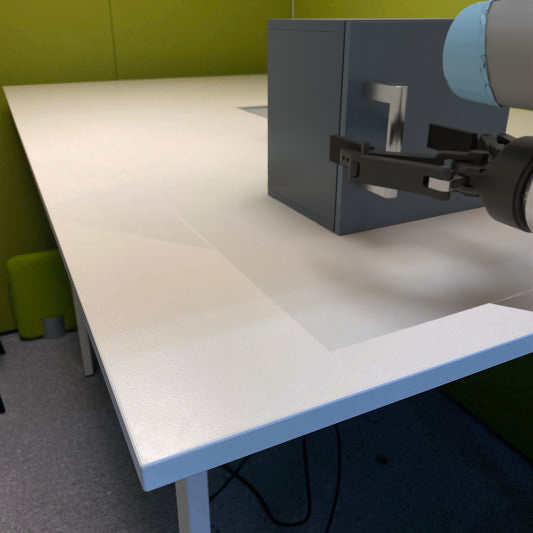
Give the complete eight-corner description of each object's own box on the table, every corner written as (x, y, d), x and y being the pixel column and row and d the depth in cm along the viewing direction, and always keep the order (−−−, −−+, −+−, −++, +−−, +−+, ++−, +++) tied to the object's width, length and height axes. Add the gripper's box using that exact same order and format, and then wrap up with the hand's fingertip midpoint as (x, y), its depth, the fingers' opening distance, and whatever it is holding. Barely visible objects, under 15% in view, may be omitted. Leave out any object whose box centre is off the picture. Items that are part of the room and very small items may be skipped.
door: (527, 216, 74) (568, 20, 64) (368, 252, 63) (386, 22, 53) (487, 202, 79) (519, 19, 69) (334, 233, 68) (345, 21, 58)
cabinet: (485, 203, 79) (517, 18, 69) (333, 233, 69) (344, 20, 58) (404, 173, 94) (420, 17, 84) (267, 195, 83) (267, 18, 73)
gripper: (427, 263, 40) (285, 189, 57) (633, 211, 51) (461, 161, 68) (440, 162, 37) (286, 115, 54) (658, 129, 47) (471, 98, 64)
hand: (383, 141), depth 61 cm, fingers open, 13 cm apart
